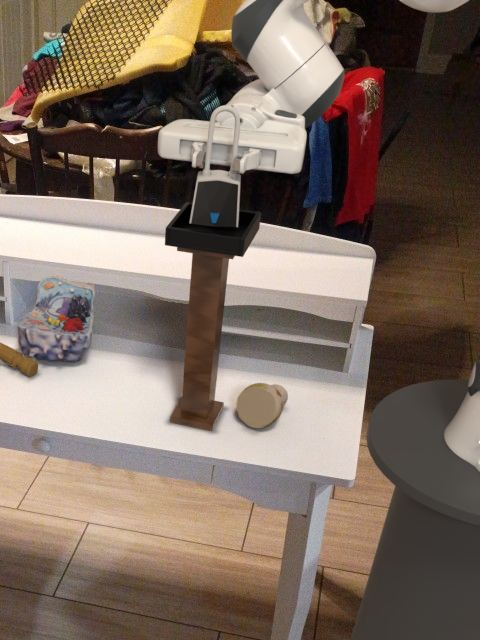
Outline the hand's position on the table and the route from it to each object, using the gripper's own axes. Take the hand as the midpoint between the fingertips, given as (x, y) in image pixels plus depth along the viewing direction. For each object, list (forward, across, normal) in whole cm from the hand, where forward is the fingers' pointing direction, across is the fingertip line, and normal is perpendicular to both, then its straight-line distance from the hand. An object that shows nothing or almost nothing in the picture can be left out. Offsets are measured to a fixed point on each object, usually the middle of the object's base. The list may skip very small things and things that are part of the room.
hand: (217, 164), depth 112 cm
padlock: (-1, 0, +8) cm, 8 cm away
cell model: (-23, -32, +35) cm, 53 cm away
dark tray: (-1, 0, +10) cm, 10 cm away
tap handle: (-2, -30, +39) cm, 49 cm away
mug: (-4, +10, +40) cm, 42 cm away
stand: (-1, 0, +40) cm, 40 cm away
